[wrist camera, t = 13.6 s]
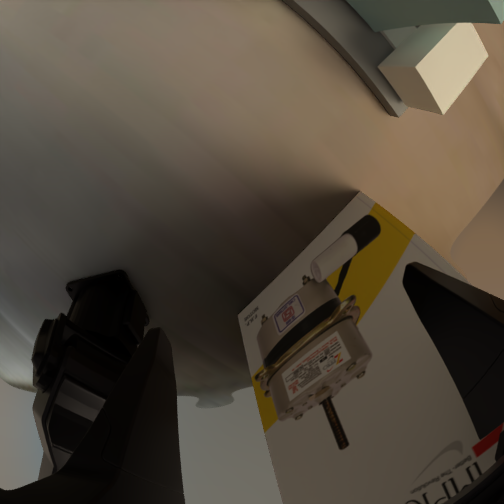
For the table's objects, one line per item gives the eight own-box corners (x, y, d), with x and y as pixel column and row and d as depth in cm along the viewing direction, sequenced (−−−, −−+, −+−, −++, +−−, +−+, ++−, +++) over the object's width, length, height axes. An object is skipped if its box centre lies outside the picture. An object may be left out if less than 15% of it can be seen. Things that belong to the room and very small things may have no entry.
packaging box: (359, 190, 22) (583, 442, 1) (422, 274, 30) (539, 429, 9) (236, 315, 27) (305, 581, 6) (330, 357, 35) (401, 521, 14)
